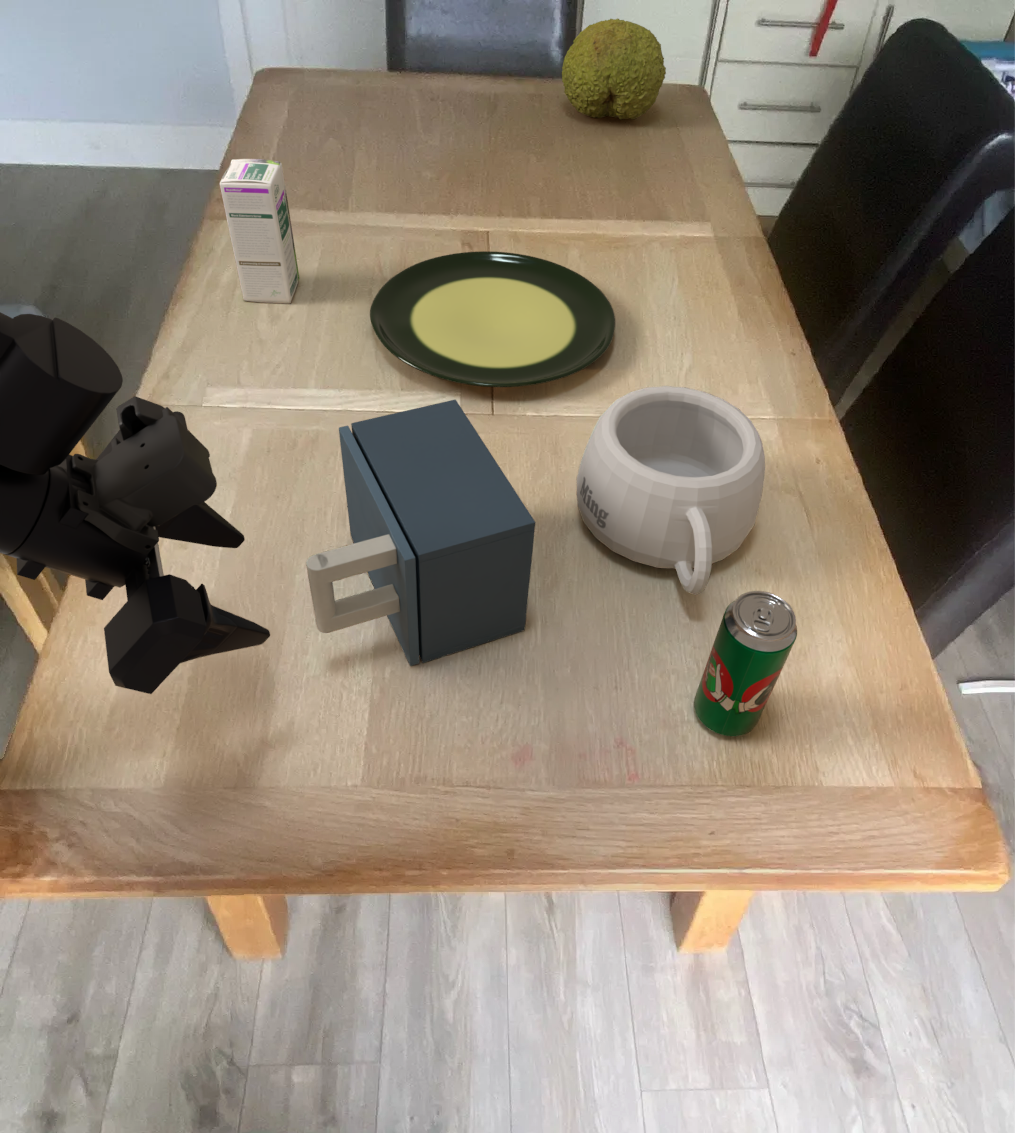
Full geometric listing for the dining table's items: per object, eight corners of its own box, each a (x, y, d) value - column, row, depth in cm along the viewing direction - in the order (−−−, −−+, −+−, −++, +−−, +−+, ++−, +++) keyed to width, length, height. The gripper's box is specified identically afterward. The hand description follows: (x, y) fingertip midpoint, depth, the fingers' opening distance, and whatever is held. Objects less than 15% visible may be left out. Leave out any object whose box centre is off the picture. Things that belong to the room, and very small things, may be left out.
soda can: (761, 697, 71) (806, 598, 63) (752, 749, 68) (797, 652, 59) (698, 678, 72) (733, 578, 64) (686, 728, 69) (721, 630, 60)
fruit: (580, 139, 142) (554, 33, 136) (572, 138, 155) (548, 41, 149) (681, 104, 141) (659, -5, 134) (664, 106, 154) (643, 7, 147)
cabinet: (422, 663, 72) (418, 555, 63) (361, 533, 81) (350, 422, 72) (524, 630, 75) (535, 522, 66) (454, 508, 84) (455, 398, 75)
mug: (563, 457, 90) (573, 373, 83) (727, 455, 91) (751, 373, 84) (592, 625, 75) (607, 542, 68) (786, 620, 77) (822, 538, 70)
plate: (662, 361, 102) (666, 342, 100) (444, 433, 92) (444, 413, 90) (531, 249, 118) (533, 231, 116) (332, 300, 107) (331, 281, 106)
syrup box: (291, 304, 106) (274, 182, 96) (241, 302, 106) (218, 179, 95) (300, 279, 110) (284, 159, 99) (251, 277, 110) (230, 156, 99)
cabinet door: (332, 691, 70) (315, 585, 61) (280, 554, 79) (259, 445, 70) (419, 663, 72) (415, 557, 63) (359, 533, 81) (348, 425, 72)
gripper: (118, 522, 43) (363, 613, 54) (88, 314, 54) (295, 424, 65) (-2, 667, 46) (251, 723, 57) (-6, 443, 58) (206, 526, 69)
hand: (253, 587), depth 62 cm, fingers open, 9 cm apart
